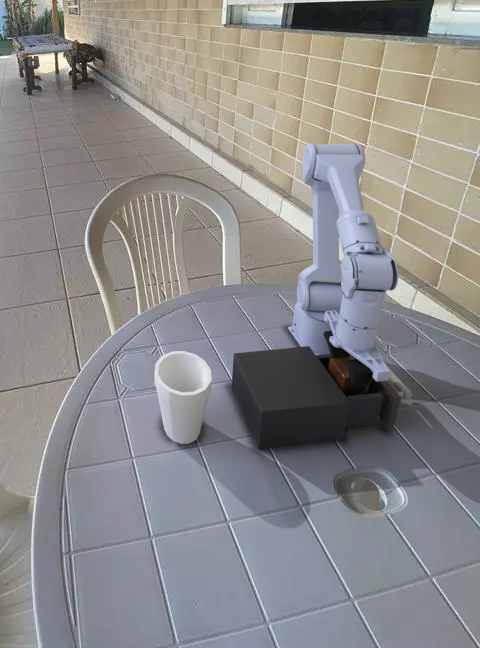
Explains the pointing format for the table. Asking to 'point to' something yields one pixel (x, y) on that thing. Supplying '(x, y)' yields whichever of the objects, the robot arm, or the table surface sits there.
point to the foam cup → (182, 394)
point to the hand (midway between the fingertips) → (346, 379)
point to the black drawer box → (288, 397)
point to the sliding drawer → (374, 400)
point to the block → (342, 374)
